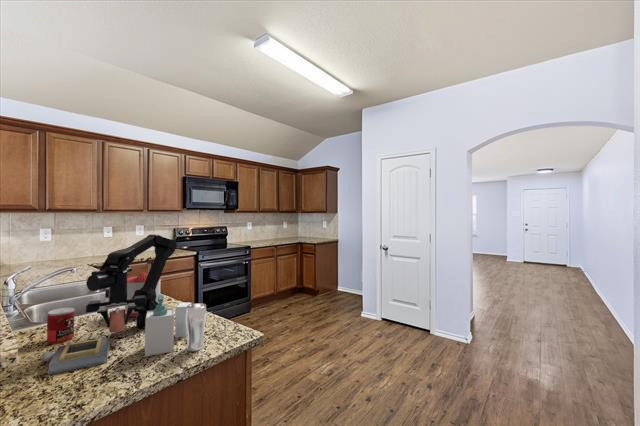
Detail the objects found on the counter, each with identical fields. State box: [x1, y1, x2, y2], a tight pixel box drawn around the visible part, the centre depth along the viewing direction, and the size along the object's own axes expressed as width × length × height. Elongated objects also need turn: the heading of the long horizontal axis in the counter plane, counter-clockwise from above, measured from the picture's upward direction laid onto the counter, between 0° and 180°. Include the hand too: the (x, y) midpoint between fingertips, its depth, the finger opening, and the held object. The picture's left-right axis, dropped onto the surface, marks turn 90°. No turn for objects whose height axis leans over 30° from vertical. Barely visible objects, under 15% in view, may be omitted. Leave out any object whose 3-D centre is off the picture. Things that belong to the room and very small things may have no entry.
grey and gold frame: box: [42, 336, 111, 375], centre depth 95 cm, size 17×14×4 cm
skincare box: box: [174, 301, 192, 338], centre depth 117 cm, size 6×4×12 cm
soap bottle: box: [144, 293, 175, 357], centre depth 104 cm, size 9×9×19 cm
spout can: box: [108, 307, 126, 333], centre depth 112 cm, size 5×5×9 cm
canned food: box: [46, 307, 76, 345], centre depth 110 cm, size 8×8×11 cm
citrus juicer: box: [124, 271, 162, 318], centre depth 141 cm, size 16×17×20 cm
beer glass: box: [185, 302, 207, 352], centre depth 105 cm, size 7×7×15 cm
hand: (117, 325), depth 112 cm, fingers closed on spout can, 5 cm apart
